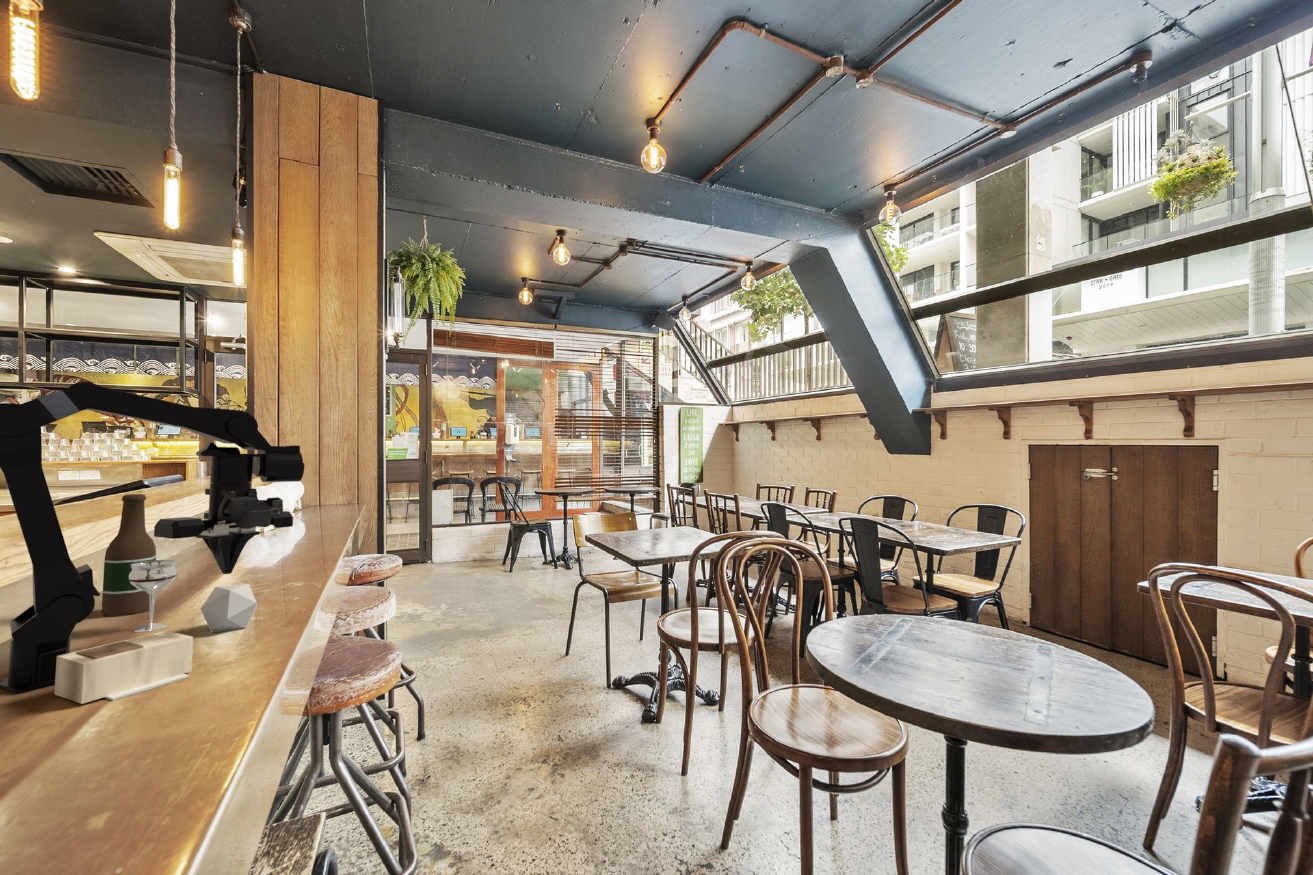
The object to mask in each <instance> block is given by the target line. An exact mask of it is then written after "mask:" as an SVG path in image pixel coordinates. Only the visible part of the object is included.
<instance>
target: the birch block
mask: <svg viewBox="0 0 1313 875" xmlns="http://www.w3.org/2000/svg"><path fill="white" fill-rule="evenodd" d="M193 650H194V636H192V635H187V634H183V633H178V632H174V631H170V630H163V631H160V632H156V633H150V634H147V635H141V636H137V637H133V638H132V637H131V638H129V639H124V640H120V641H116V642H112V643H111V642H110V643H106V644H103V645H99V646H95V647H90V648H85V649H82V650H77V651H74V652H73V651H71V652H70V653H68V654H63V655H59V656H57V661H56V677H55V683H54V695H55V696H59V697H61V698H64V699H66V700H69V701H73V702H75V703H77V704H81V705H83V704H87V703H89V702H94V701H97V700H99V699H102V698H103V697H107V696H110V695H113V694H117V693H120V692H123V691H127V690H130V689H133V688H137V687H140V686H143V685H147V684H150V683H153V682H157V681H160V680H163V679H167V678H170V677H173V676H177V675H180V674H187V673H190V672H192V671H193V670H192V667H193Z"/></svg>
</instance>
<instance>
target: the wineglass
mask: <svg viewBox="0 0 1313 875" xmlns="http://www.w3.org/2000/svg"><path fill="white" fill-rule="evenodd" d="M176 564H178V560H177V559H156V560H154V561H144V562H138V563H133V564H130V566H131V568H132V570H131V572H130V573H129V581H130V583H131V585H133V586H134V587H136V588H137V589H139V590H143V591H147V593H148V594H150V610H149V623H146V624H144V625H141V626H138V627H134V628H133V629H131V631H132V632H134V633H135V632H136V633H144V632H153V631H158V630H162V629H164V628H167V627H169V624H167V623H162V622H161V623H159V622H157V623H156V622H153V619H154V611H155V600H156V594H157V593H158V592H159V591H160V590H162V589H163V588H166V587H168V586H169V585H170V584H171V583H173V582H174V581H175V579H176V578H177V575H178V568H177V567H176Z"/></svg>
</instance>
